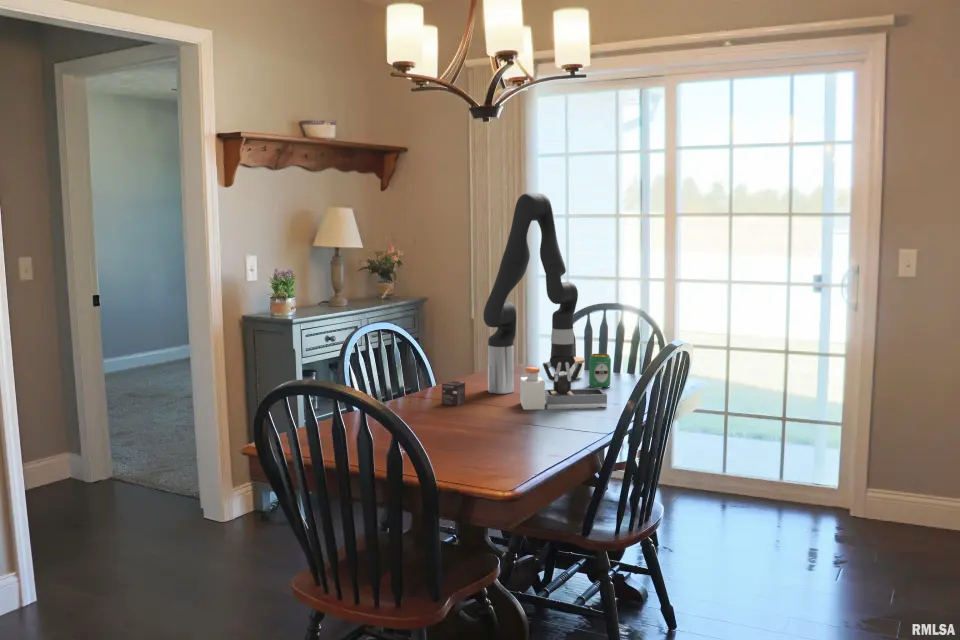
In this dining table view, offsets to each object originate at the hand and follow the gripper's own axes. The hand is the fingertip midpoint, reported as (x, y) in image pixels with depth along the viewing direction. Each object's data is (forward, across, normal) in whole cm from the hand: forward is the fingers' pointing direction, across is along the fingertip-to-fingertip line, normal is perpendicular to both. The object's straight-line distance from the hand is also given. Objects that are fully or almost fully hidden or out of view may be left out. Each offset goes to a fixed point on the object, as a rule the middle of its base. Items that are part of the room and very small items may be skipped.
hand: (562, 391), depth 280 cm
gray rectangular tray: (+5, +4, 0) cm, 6 cm away
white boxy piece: (+5, -10, 0) cm, 11 cm away
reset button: (-3, -10, 0) cm, 11 cm away
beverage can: (+5, +19, +30) cm, 36 cm away
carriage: (+3, 0, 0) cm, 3 cm away
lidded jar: (+5, +11, +47) cm, 49 cm away
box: (+5, -37, +6) cm, 38 cm away
